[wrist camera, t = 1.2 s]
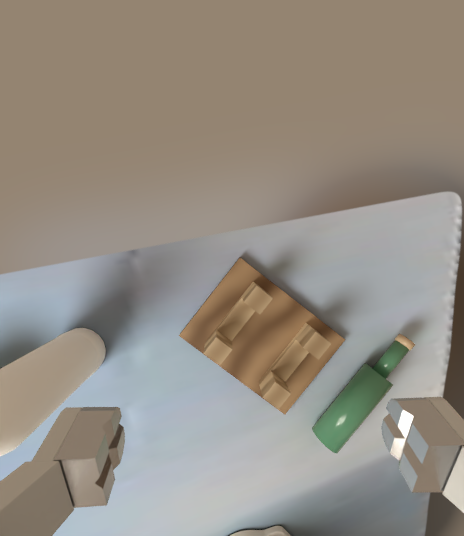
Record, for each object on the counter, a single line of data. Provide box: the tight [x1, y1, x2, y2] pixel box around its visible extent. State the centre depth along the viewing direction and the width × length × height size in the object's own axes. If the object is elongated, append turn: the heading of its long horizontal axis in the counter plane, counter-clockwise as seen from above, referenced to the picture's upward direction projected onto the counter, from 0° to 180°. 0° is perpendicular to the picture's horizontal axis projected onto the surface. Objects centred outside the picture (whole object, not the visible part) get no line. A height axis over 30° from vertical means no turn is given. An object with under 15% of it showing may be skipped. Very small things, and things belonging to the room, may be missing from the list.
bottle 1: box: [0, 328, 106, 456], centre depth 34 cm, size 8×8×30 cm
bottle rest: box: [179, 258, 345, 414], centre depth 47 cm, size 22×16×6 cm
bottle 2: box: [312, 334, 415, 453], centre depth 49 cm, size 21×5×5 cm, turn 142°
